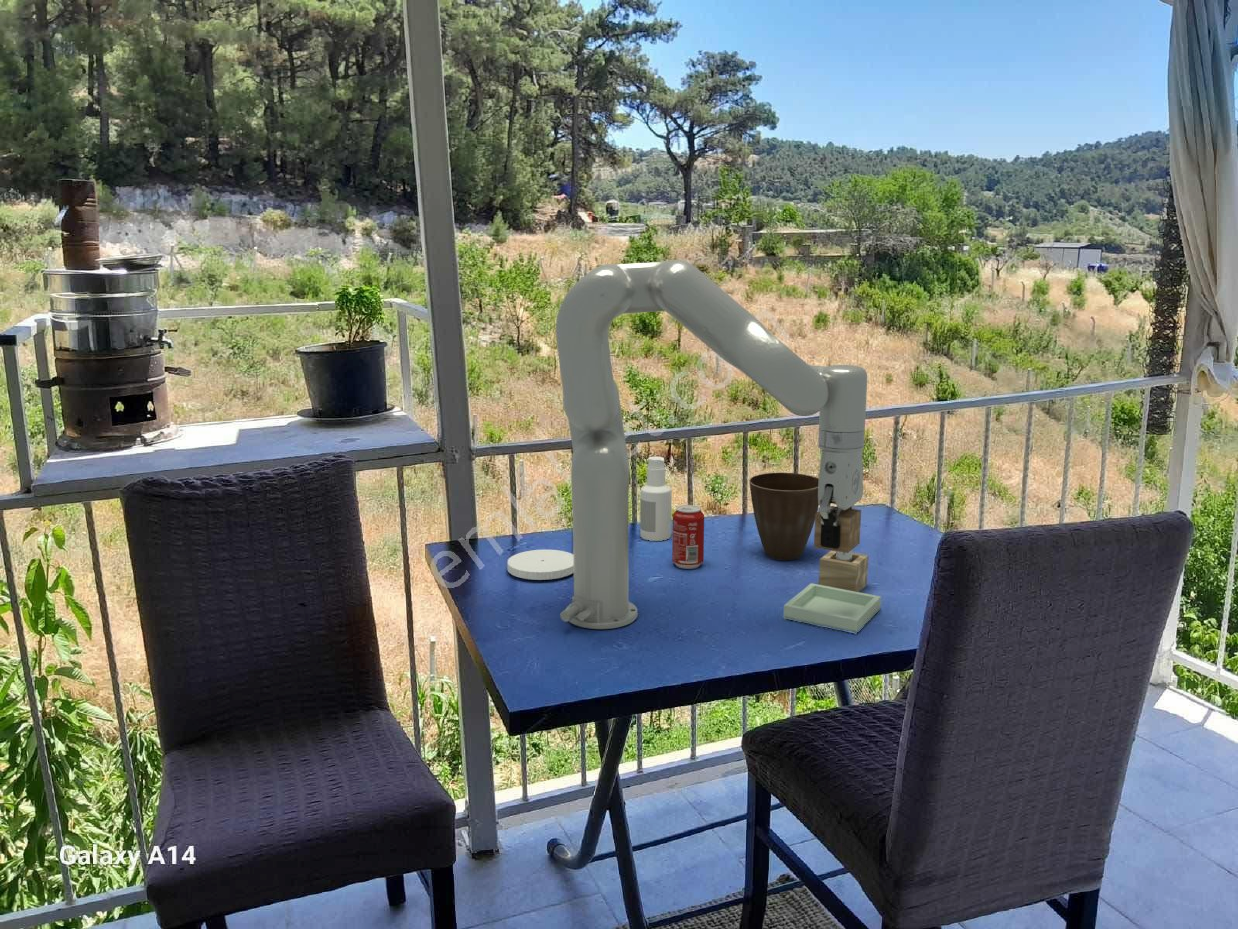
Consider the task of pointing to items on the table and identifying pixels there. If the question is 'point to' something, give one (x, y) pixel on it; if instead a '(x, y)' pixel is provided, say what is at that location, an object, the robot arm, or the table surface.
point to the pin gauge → (844, 556)
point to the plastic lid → (541, 564)
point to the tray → (832, 607)
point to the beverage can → (688, 537)
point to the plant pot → (784, 512)
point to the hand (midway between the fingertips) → (836, 541)
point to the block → (842, 530)
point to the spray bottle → (655, 503)
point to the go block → (844, 572)
